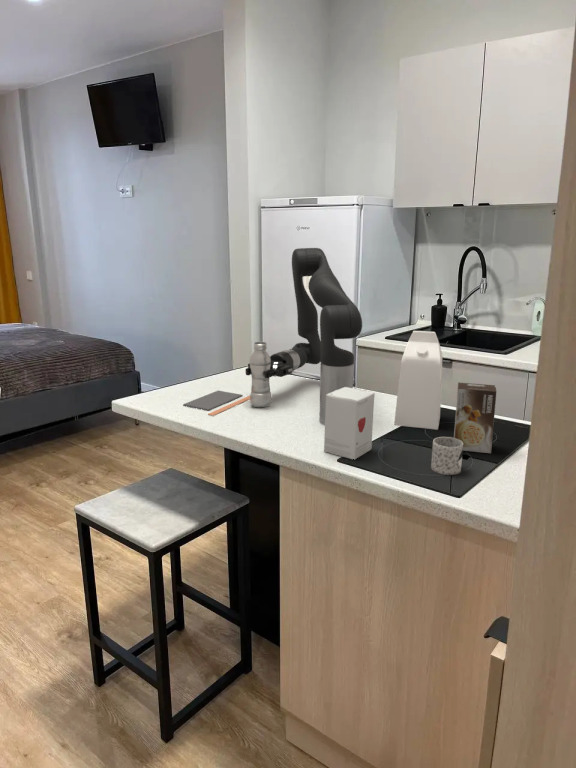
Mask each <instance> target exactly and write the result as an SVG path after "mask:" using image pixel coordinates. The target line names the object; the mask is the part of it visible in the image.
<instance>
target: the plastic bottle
mask: <svg viewBox="0 0 576 768" xmlns="http://www.w3.org/2000/svg"><path fill="white" fill-rule="evenodd" d="M267 349H268V347H267V342H265V341H255V342H254V343H253V350H254V351H253V352H252V353H251V355H250V357H249V363H250V368H251V375H250V376H251V388H250V394H249V396H250V404H251V405H252V406H253V407H257V408H266V407H269V406H270V405H271V403H272V400H273V399H272V392H271V386H270V378H265V371H267V370H269V369H270V366H271V358H270V356H271V355H270V354H269V353H268V352H267Z"/></svg>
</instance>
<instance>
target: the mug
mask: <svg viewBox="0 0 576 768" xmlns="http://www.w3.org/2000/svg"><path fill="white" fill-rule="evenodd" d="M462 462H463V442H462V441H461V440H459V439H456V438H454V437H452V436H439V437H435V438H434V439H433V441H432V450H431V461H430V463H431V464H430V469H431V470H432V471H433V472H435V473H438V474H439V475H440V474H441V475H445V476H454V475H455V476H456V475H458V474H461V472H462Z"/></svg>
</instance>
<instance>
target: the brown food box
mask: <svg viewBox="0 0 576 768" xmlns="http://www.w3.org/2000/svg"><path fill="white" fill-rule="evenodd" d="M456 393H457V394H456V402H455V404H456V405H455V416H454V417H455V418H454V431H453V438H456V439H459V440H461V441H462V442H463V451H465V452H473V453H474V452H475V453H482V454H483V453H484V454H492V447H493V445H492V444H493V436H494V426H495V425H494V424H495V416H496V415H495V412H496V401H497V388H496V385H494V384H483V383H468V382H458V383H457V392H456Z"/></svg>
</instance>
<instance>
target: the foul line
mask: <svg viewBox="0 0 576 768" xmlns="http://www.w3.org/2000/svg"><path fill="white" fill-rule="evenodd" d="M249 400H250V395H248V396H246V397H243V398H241V399H237V400H236V401H234V402H231V403H230V404H229V403H228V404H226V405H224V406H223V407H221V408H218V409H216V410H213V411H210V412H209V413H208V414H207V415H208V416H212V417H215V416H216V415H218V414H221V413H223V412H225V411H228V410H229V409H232V408H234V407H237V406H239V405H241V404H243V403H245V402H248V401H249ZM236 405H237V406H236ZM227 409H228V410H227Z"/></svg>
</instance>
